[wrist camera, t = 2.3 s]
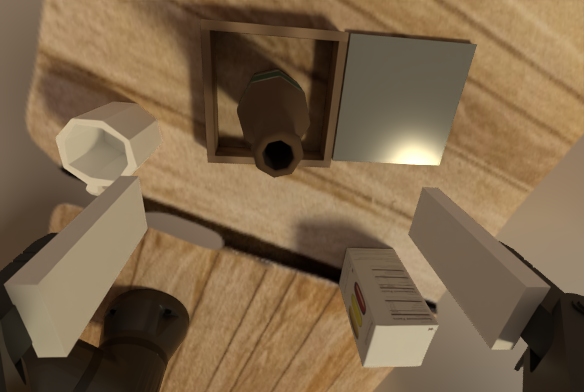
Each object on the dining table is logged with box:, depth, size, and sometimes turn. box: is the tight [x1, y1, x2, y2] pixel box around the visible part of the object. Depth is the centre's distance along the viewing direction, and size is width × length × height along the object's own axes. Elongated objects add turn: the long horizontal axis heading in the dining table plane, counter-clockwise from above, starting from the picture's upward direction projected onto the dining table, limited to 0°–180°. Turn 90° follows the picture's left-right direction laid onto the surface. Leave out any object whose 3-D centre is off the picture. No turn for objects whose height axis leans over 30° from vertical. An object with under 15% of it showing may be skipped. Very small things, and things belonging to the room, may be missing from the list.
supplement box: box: [339, 248, 439, 367], centre depth 50 cm, size 10×9×17 cm
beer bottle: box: [237, 68, 310, 177], centre depth 31 cm, size 8×8×24 cm
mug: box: [55, 101, 163, 196], centre depth 39 cm, size 12×9×10 cm
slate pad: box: [332, 33, 477, 165], centre depth 43 cm, size 17×17×1 cm
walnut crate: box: [200, 19, 349, 168], centre depth 40 cm, size 17×17×4 cm
